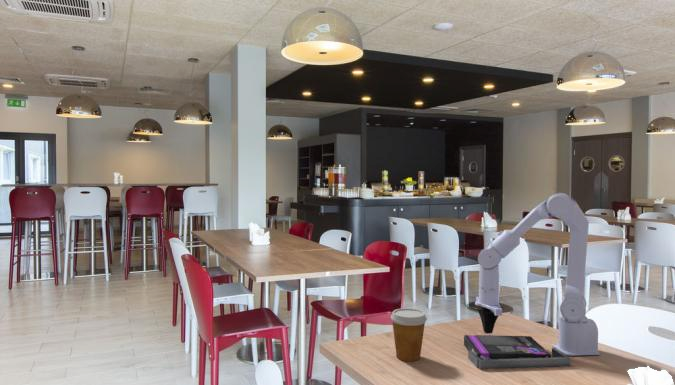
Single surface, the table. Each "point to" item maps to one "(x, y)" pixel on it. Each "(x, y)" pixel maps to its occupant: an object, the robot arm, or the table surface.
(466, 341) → the box
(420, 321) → the disposable coffee cup
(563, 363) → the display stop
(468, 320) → the table surface
